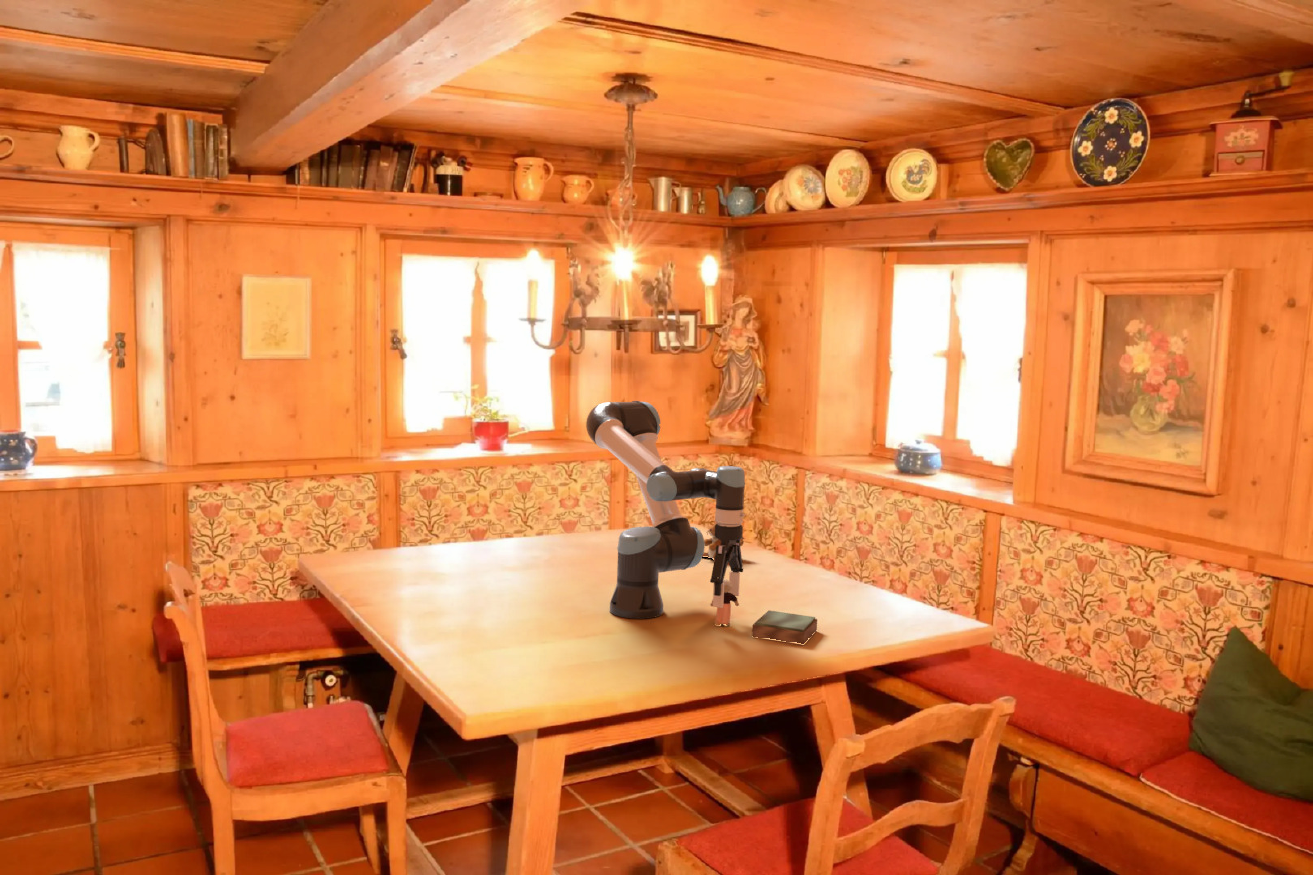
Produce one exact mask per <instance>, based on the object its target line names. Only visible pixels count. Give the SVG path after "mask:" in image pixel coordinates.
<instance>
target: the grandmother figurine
mask: <svg viewBox="0 0 1313 875" xmlns="http://www.w3.org/2000/svg"><path fill="white" fill-rule="evenodd" d="M723 583H724V604H723V608H720V607H716V614H715V622H714V624H716V625H720V624H721V625H723V624H726V625H729V624H730V625H731V623H730V621H731V611H732V609H731V607H732V604H731V602H733V603H734V606H736V607H738V606H740V603H739V601H738V597H737V596H735V595H733V594H732V593H729V591H730V589H731V588H732V584H731V582H729V580H728V579H724V580H723ZM709 605H710V606H711V607H713V599H711V603H710V604H709Z"/></svg>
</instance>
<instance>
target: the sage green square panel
mask: <svg viewBox="0 0 1313 875" xmlns="http://www.w3.org/2000/svg"><path fill="white" fill-rule="evenodd" d="M751 626H752V628H751V637H752V636H753V637H758V638H770V639H776V640H781V641H786V642H797V643H801V644H804V643H805V642H806V641H807V640H808V638H810V637H811V636H812V634H813V633H814V632H815V631H816V630H817V631H818V619H817V618H816V617H815V616H811V615H803V614H798V613H797V614H796V613H790V612H783V611H777V610H770V609H769V610H768V611H766V612H765V613H764V614H762V615H761V617H759V618H758V619H757V620H756V621H755V622H754V623H753V624H752V625H751ZM817 631H816V632H817ZM812 637H813V636H812ZM812 637H811V638H812ZM758 638H757V639H758ZM811 638H810V639H811ZM808 641H809V640H808Z"/></svg>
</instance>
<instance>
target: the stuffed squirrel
mask: <svg viewBox="0 0 1313 875" xmlns="http://www.w3.org/2000/svg"><path fill="white" fill-rule="evenodd" d="M716 524H717V523H716V522H715V523H714V524H712V526H710V527H709V529H708V530H706V532H705V534H706V535H708V534H709V536H711V537H710V538H704V544H705V547H708V551H707V552H704V553H703V556H708V557H710V558H714V560H715V554H716V546H717V545H719V546H720V544H721V540H720V539H717V538H715V525H716ZM745 539H746V537H744V536H743V537H742V539H740V547H742V546H743V545H744V543H745V541H744V540H745Z"/></svg>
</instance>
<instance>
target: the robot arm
mask: <svg viewBox="0 0 1313 875" xmlns="http://www.w3.org/2000/svg"><path fill="white" fill-rule="evenodd" d="M660 417H661V416H660V415H659V412H658V410H657V409H656V407H655V406H653V405H652V404H651V403H649V402H647V401H640V400H632V401H605V402H601V403H598V405H596V406H594V407H593V408H592V409H591V410H590V412H589V413H588V415H587V418H586V422H585V427H586V432H587V434H588V437H589V438H590V440H592V441H593V443H594V444H595V445H597V446H598V447H599V448H601V449H603V450H604V449H605V450H607V451H609V453H611V454H612V455H613V456H614V457H615V458H617V459H618V460H619V461H620V462H621V463H622V464H623V465H624V466H626V467H627V469H628V470H630V471H631V472H632V473H634V474H635V476H636V479H637V482H638V485H639V489H640V491H641V494H642V497H643V499H644V500H643V501H644V503H645V505H646V509H647V511H648V514H649V517H650V519H651V523H652V526H637V527H632V528H631V527H630V528H628V529H626V530H624V531H622V532H621V533H620V535H619V537H618V544H617V547H616V548H617V567H616V568H617V569H616V570H617V571H616V585H615V588H614V590H613V594H612V596H611V599H610V602H609V612H610V613H611V614H613V615H614V616H616V617H620V618H626V619H635V620H636V619H637V620H638V619H640V620H642V619H644V620H645V618H646V619H652V618H651V617H653V618H656V617H655V616H657V617H660V616H661V614H662V613H663V614H664V602H663V598H662V595H661V591H660V588H659V577H660V576H659V573H666V572H667V573H668V572H673V571H683V570H684V571H685V570H687V569H691V568H694V567H696V566H698V565H699V564H700V563H701V561H702V559H703V558H702V557H703V553H705V547H706V546H705V544H704V540H705V538H704V535H703V533H702V532H701V530H700V529H698V528H697V527H694V526H691V524H690V521H689V518H688V517H687V516H684V515H682V514H681V512H680V510H679V506H678V503H677V501H679V500H689V499H701V498H707V499H712V500H715V509H714V511H715V514H714V522H715V523H717V524H716V525H715V538H717V539H720V540H721V544H720V546H719V545H717V546H716V554H715V560H714V561H713V567H712V572H711V577H710V580H709V582H710V583H711V584H713V593H712V600H713V606H712V607H714V608H717V607H720V608H723V604H724V583H723V580H725V576H726V572H727V568H728V565H729V567H730V570H731V571H729V580H728V581H729V582H731V584H732V588H731V589H730V591H729V593H732V594H733V595H735V596H736V597H739V596H740V582H741V581H740V576H741V574H740V573H743V572H744V568H743V559H742V556H743V555H742V551H741V546H740V539H742V537H744V536H743V533H744V526H743V525H742V524H743V523H744V517H745V516H746V513H744V505H745V503H744V502H745V486H746V482H745V477H746V475H745V470H744V468H742V467H740V466H732V465H721V466H719V467H717V469H716V471H715V470H711V469H707V468H703V467H702V468H701V467H695V468H692V469H690V470H685V471H674V470H673V469H672V468H670V466H669V465H667V464H665V462H663V461H662V458H661V456H660V453H659V450H658V448H657V445H656V443H657V442H658V439H659V436H658V435H659V433H660V431H661V425H660V424H661V418H660ZM663 614H662V615H663Z"/></svg>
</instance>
